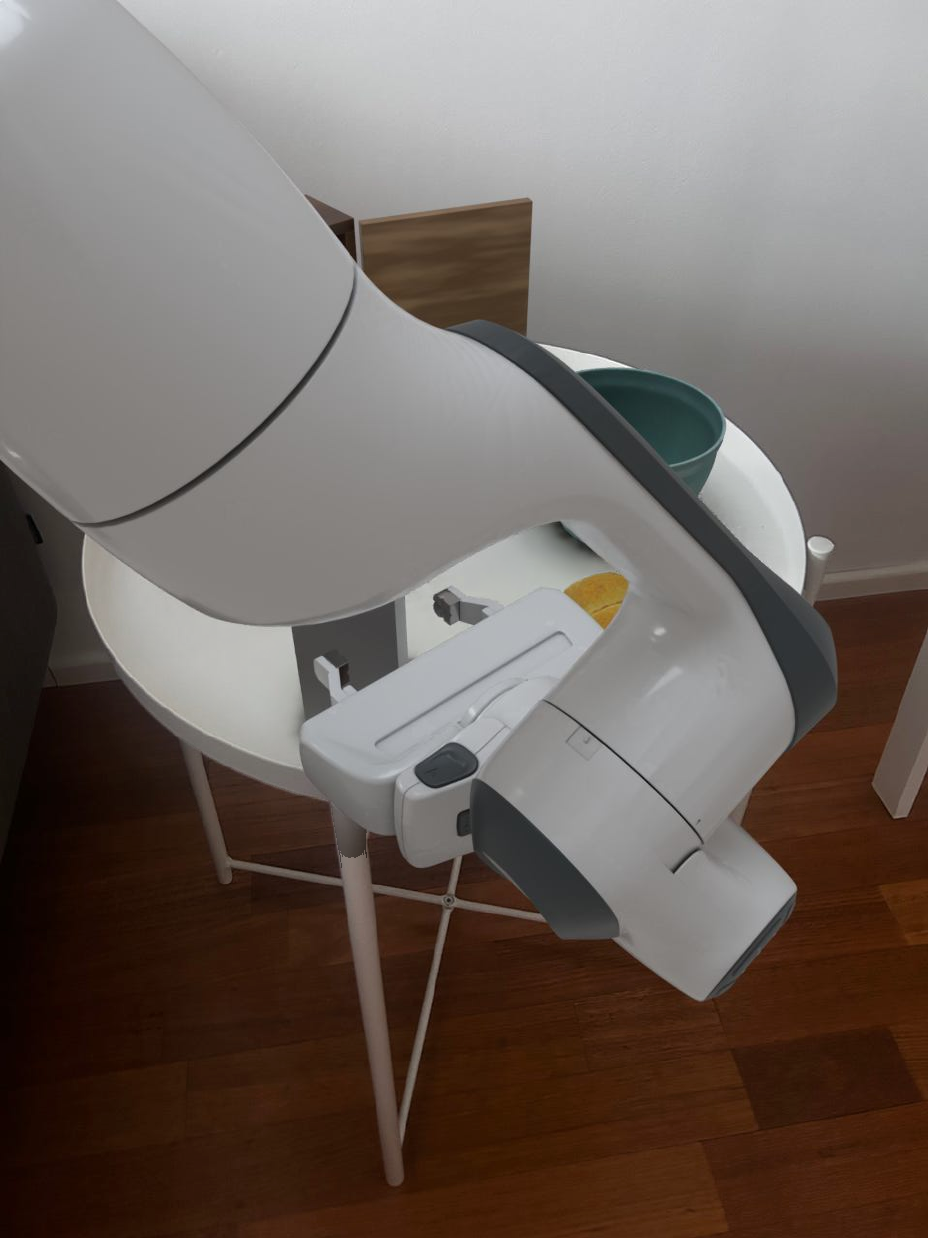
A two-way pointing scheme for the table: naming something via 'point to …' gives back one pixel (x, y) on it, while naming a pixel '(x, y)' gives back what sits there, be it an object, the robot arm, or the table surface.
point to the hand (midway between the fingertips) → (384, 628)
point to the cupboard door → (454, 262)
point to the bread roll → (599, 595)
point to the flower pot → (665, 418)
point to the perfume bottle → (351, 650)
